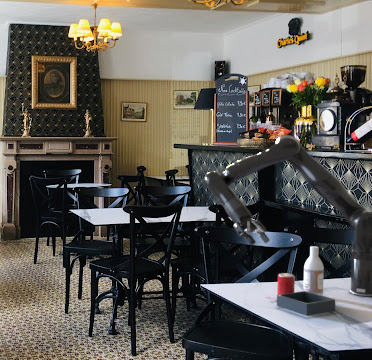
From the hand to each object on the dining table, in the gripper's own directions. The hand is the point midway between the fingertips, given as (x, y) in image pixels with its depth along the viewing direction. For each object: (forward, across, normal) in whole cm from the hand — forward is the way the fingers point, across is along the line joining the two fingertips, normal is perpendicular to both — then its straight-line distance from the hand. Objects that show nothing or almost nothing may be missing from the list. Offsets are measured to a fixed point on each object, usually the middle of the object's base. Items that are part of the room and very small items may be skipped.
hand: (260, 242), depth 233 cm
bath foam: (+25, +14, +5) cm, 29 cm away
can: (+23, 0, +7) cm, 24 cm away
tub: (+31, -5, -1) cm, 31 cm away
